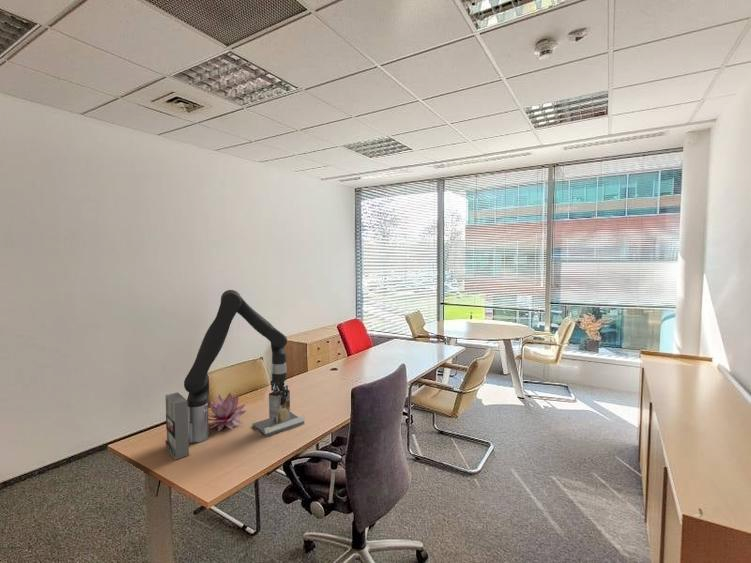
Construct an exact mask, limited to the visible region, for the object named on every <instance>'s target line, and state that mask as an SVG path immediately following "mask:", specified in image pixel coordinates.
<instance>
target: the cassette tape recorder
mask: <svg viewBox="0 0 751 563" xmlns="http://www.w3.org/2000/svg"><path fill="white" fill-rule="evenodd" d="M164 396H165V430H166V439H165V442H164V443H165V449H166V450H167V452H168V453H169V454H170V456H171V457H172V458H173V459H174V461H175V460H176V461H177V460H179V459H182V458H184V457H186V456H187V457H188V456H190V446H189V445H190V443H189V438H188V404H187V398H185V397H184V396H183V395H182V394H180V393H179V392H173V393H169V394H165V395H164Z"/></svg>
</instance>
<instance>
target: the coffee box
mask: <svg viewBox="0 0 751 563" xmlns="http://www.w3.org/2000/svg"><path fill="white" fill-rule="evenodd" d="M290 391H291V390H290V389H288V397H285V404H284V405H281V394H279V392H278V390H276V391H274V392H273V391H271V392H269V393H268V412H269V413H268V415H269V418H268V419H269V424H272V425H276V424H279V423H282V422H285V421H288V420H290V412H291V401H290V400H291V398H290V396H291V395H290Z"/></svg>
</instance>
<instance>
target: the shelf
mask: <svg viewBox="0 0 751 563" xmlns="http://www.w3.org/2000/svg"><path fill="white" fill-rule="evenodd" d="M304 424H305V416H304V415H301V416H297V415H296V414H295V413H293V412H292V411H290V420H288V421H285V422H282V423H279V424H276V425H272V424H269V418H266V419H263V420H261V421H256V422H253V423H252V428H254V430H256V431H257V430H258V431H257V432H259V433H260V435H262V436H263V435H264V436H263V437H264V438H266V436H267V437H269V436H272V435H274V434H278V433H281V432H284V431H287V430H290V429H293V428H297V427H299V426H302V425H304Z"/></svg>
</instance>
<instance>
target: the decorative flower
mask: <svg viewBox="0 0 751 563" xmlns="http://www.w3.org/2000/svg"><path fill="white" fill-rule="evenodd" d="M215 403H216V404H214V402H213V401H212V399H210V401H209V407H210V410H211V412H212V414H211V413H209V412H208V421H212V422H208V425H211V426H210V427H209V429H213V428H214V427H216V429H217V431H218V432H220V431H221V430H223V429H224V427H226V428H227V429H231V430H232V429H234V425H238V424H242V422H241V421H239V420H240V419H241V416H242V415H243V414H245V413H246V412H247V410H246V409H245V410H243V409H244V408H245V404H242V405H240V406H238V404H239V393H237V394H236V395H235V397H233V396H232V393H231V392H229V393H228V395H226V398H225V399H224V400H223V399H222V397H221V394H220V393H219V394H218V395H217V398H216V401H215ZM213 414H214V415H213ZM209 417H210V418H209ZM212 418H213V419H212ZM212 424H213V425H212Z"/></svg>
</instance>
